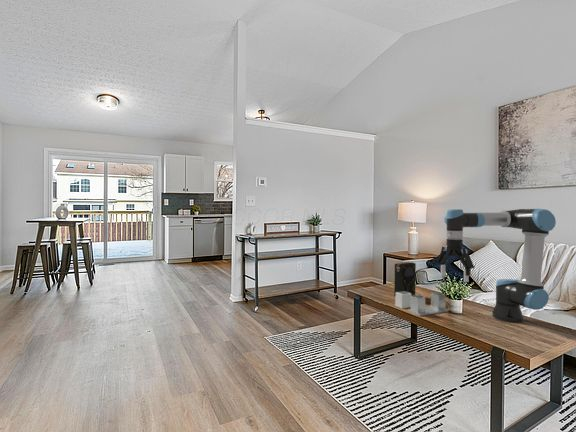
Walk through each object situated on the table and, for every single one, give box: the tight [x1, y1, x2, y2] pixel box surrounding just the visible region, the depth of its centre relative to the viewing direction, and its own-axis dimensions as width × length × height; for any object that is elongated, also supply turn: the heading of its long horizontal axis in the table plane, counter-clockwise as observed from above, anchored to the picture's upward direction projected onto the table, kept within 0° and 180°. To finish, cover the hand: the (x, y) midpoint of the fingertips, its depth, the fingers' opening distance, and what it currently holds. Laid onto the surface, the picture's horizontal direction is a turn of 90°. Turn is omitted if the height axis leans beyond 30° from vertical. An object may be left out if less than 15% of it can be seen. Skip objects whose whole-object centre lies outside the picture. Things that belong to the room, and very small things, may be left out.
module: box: [394, 291, 411, 309], centre depth 212 cm, size 8×6×9 cm
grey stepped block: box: [406, 291, 449, 317], centre depth 202 cm, size 24×10×11 cm, turn 113°
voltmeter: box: [393, 261, 417, 297], centre depth 236 cm, size 16×9×25 cm, turn 120°
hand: (454, 279), depth 168 cm, fingers open, 13 cm apart
